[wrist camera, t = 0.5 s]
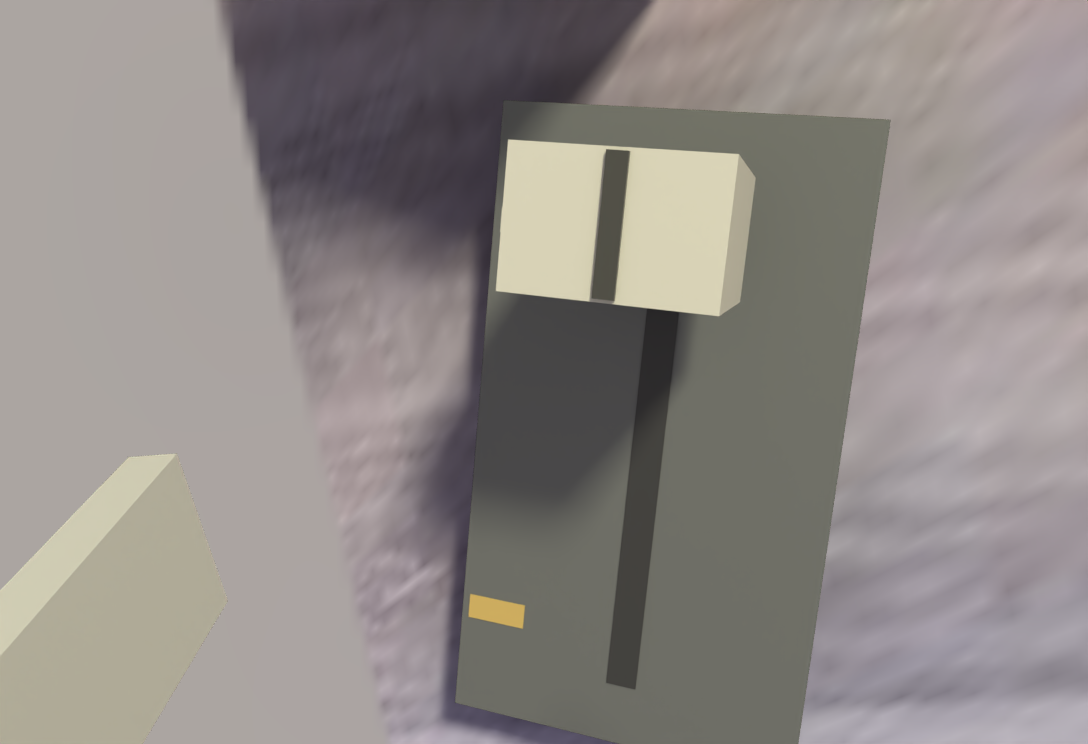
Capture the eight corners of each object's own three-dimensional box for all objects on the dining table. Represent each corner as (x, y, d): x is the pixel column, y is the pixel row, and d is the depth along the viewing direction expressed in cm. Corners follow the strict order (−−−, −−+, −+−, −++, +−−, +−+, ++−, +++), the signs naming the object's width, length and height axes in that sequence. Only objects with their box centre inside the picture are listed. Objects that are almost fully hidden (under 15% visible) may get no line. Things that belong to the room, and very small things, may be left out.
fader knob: (595, 172, 33) (506, 138, 23) (760, 184, 31) (738, 153, 21) (585, 280, 33) (494, 291, 24) (746, 297, 32) (718, 316, 22)
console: (527, 112, 37) (503, 100, 34) (883, 131, 33) (890, 119, 30) (479, 671, 41) (454, 703, 38) (793, 745, 37) (791, 787, 34)
